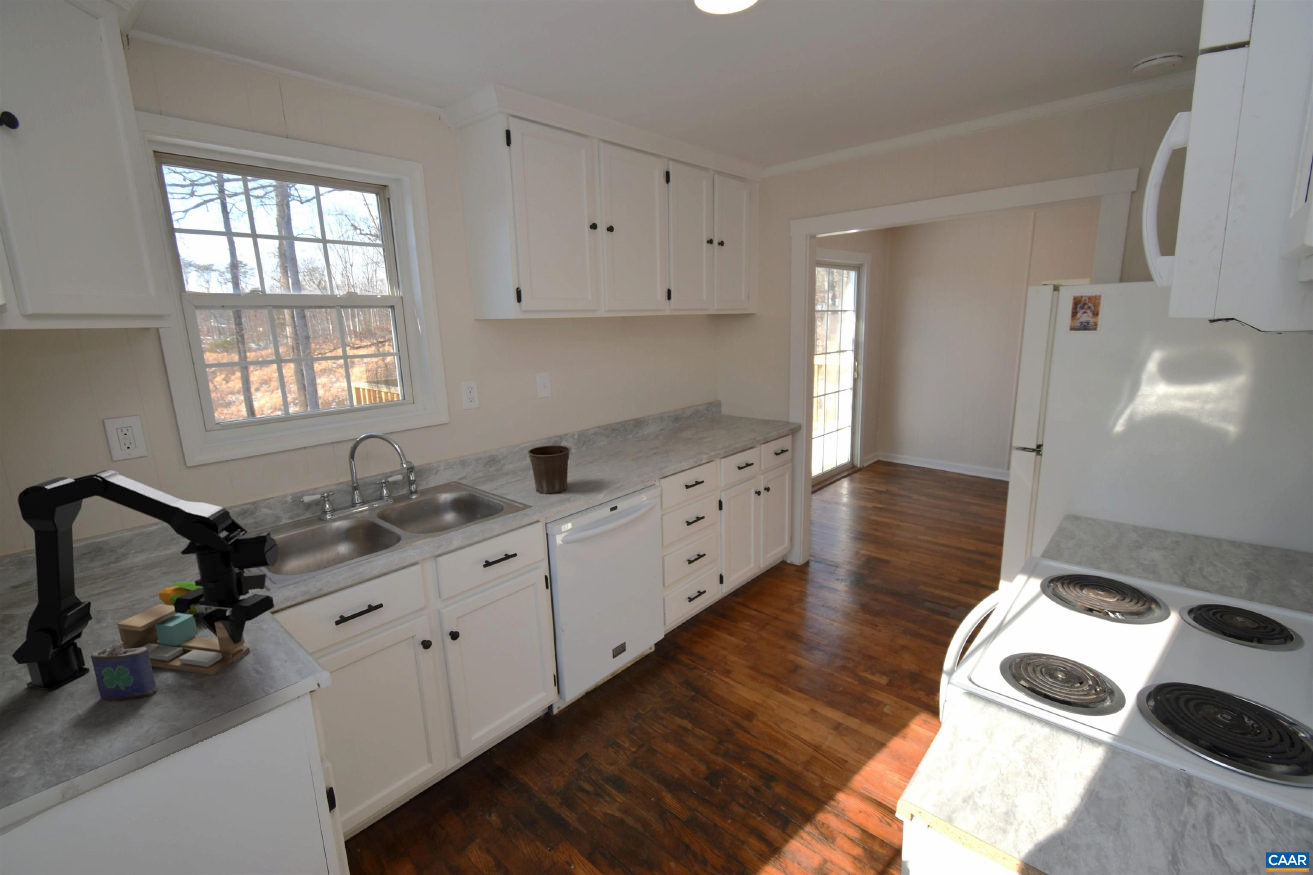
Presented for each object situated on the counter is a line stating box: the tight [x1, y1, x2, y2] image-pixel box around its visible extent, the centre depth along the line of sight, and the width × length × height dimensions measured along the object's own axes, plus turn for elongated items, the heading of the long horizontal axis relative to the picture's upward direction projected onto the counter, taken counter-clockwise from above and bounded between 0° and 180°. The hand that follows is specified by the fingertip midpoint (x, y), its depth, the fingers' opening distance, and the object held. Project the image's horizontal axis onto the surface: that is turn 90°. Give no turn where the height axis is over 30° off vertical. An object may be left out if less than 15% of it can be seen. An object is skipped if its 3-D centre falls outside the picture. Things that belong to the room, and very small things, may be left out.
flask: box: [90, 640, 158, 702], centre depth 104 cm, size 9×3×11 cm, turn 95°
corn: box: [158, 581, 202, 621], centre depth 135 cm, size 7×8×20 cm
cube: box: [155, 613, 199, 646], centre depth 119 cm, size 4×4×4 cm
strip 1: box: [142, 643, 222, 667], centre depth 115 cm, size 3×19×1 cm, turn 77°
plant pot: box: [527, 444, 571, 495], centre depth 223 cm, size 16×16×16 cm
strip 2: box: [157, 620, 245, 655], centre depth 118 cm, size 3×19×7 cm, turn 77°
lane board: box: [117, 603, 251, 676], centre depth 116 cm, size 8×22×9 cm, turn 77°
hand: (231, 641), depth 116 cm, fingers closed on strip 2, 3 cm apart
